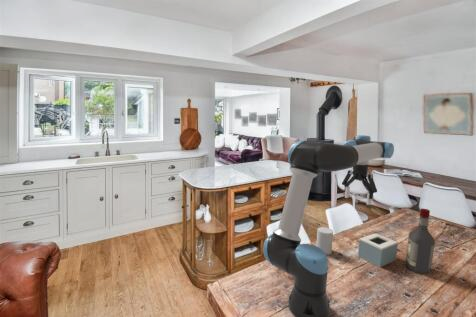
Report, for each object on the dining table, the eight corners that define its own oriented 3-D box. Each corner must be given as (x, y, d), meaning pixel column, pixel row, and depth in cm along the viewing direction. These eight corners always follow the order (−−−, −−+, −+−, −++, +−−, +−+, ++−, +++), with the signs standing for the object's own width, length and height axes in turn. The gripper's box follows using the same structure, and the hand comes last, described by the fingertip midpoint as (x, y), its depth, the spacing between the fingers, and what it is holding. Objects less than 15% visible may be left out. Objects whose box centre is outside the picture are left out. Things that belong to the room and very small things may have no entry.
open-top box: (379, 267, 129) (381, 248, 127) (358, 256, 139) (359, 238, 137) (395, 260, 136) (397, 242, 134) (373, 250, 146) (375, 233, 144)
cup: (332, 255, 139) (334, 234, 138) (316, 253, 141) (318, 232, 139) (330, 248, 147) (331, 227, 145) (315, 246, 149) (316, 226, 147)
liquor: (424, 265, 132) (432, 207, 127) (432, 275, 123) (440, 214, 118) (403, 262, 134) (410, 205, 129) (410, 271, 125) (417, 212, 121)
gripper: (387, 166, 135) (383, 206, 138) (345, 159, 156) (342, 194, 159) (378, 168, 131) (374, 208, 134) (337, 160, 152) (334, 195, 155)
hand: (357, 200), depth 147 cm, fingers open, 13 cm apart
